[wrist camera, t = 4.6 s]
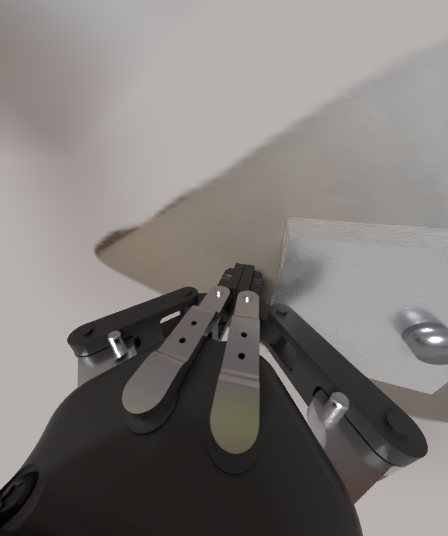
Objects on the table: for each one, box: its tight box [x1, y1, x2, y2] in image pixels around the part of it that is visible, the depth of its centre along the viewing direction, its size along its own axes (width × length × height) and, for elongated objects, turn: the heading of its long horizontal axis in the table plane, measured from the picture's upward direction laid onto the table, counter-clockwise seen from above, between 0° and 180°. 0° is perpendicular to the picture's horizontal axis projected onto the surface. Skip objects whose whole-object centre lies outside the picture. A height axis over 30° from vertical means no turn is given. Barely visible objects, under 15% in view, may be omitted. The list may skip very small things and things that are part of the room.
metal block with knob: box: [266, 217, 448, 394], centre depth 11 cm, size 10×9×6 cm
